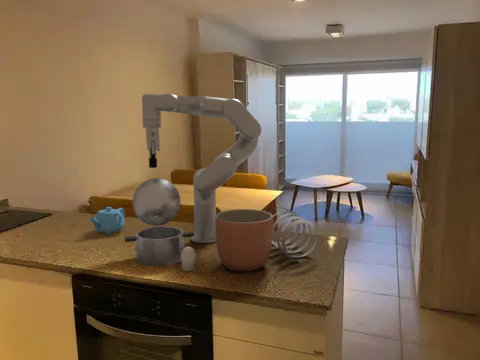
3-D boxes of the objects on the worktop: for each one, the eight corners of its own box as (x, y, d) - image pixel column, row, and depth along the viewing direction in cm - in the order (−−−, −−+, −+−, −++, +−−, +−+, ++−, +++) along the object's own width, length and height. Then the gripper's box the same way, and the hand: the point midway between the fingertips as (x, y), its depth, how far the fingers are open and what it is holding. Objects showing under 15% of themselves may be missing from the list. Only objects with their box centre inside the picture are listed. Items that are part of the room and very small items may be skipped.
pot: (190, 246, 178) (189, 223, 177) (197, 262, 159) (196, 236, 158) (126, 251, 172) (124, 227, 170) (125, 269, 153) (124, 242, 151)
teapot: (112, 224, 213) (111, 201, 211) (137, 229, 205) (135, 205, 203) (79, 234, 196) (77, 209, 194) (104, 240, 188) (103, 214, 186)
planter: (255, 253, 170) (255, 206, 167) (283, 270, 151) (284, 218, 148) (207, 261, 160) (206, 212, 157) (231, 281, 142) (230, 225, 139)
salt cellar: (194, 265, 157) (194, 244, 155) (196, 270, 152) (196, 248, 151) (180, 266, 155) (180, 245, 154) (182, 271, 151) (182, 249, 149)
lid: (181, 223, 175) (180, 223, 177) (179, 177, 176) (178, 178, 179) (133, 227, 170) (133, 227, 172) (131, 179, 172) (131, 180, 174)
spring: (263, 244, 186) (290, 269, 158) (254, 212, 182) (280, 231, 154) (295, 232, 189) (327, 255, 161) (287, 200, 186) (318, 217, 157)
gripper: (162, 124, 171) (163, 169, 174) (159, 123, 186) (160, 165, 189) (143, 124, 170) (144, 170, 172) (142, 123, 184) (143, 165, 187)
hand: (153, 167), depth 181 cm, fingers closed
